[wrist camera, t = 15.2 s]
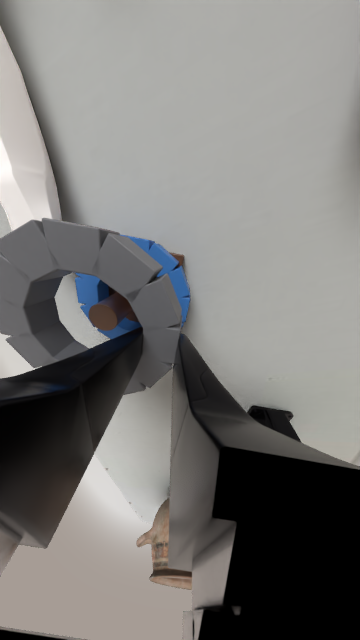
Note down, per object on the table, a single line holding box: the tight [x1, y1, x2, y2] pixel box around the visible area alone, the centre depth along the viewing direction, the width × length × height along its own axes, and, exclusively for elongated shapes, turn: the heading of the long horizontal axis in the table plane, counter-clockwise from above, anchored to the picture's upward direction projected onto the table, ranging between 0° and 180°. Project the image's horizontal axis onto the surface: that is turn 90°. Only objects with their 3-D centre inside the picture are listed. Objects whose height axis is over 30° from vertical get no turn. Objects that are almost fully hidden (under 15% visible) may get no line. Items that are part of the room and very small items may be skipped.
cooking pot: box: [137, 497, 192, 590], centre depth 33 cm, size 25×19×12 cm
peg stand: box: [89, 253, 184, 331], centre depth 13 cm, size 9×9×7 cm
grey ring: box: [0, 218, 182, 395], centre depth 9 cm, size 10×10×2 cm
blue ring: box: [75, 235, 190, 339], centre depth 14 cm, size 10×10×2 cm
